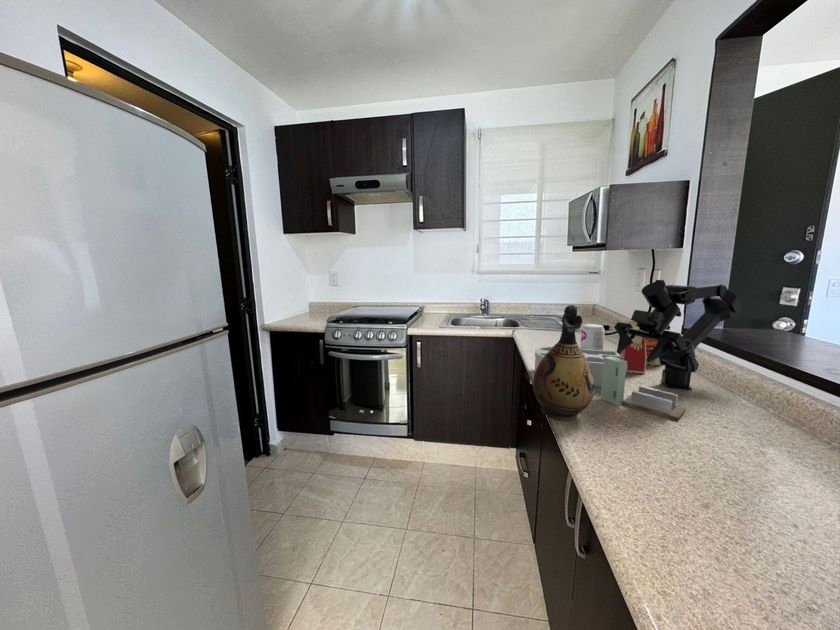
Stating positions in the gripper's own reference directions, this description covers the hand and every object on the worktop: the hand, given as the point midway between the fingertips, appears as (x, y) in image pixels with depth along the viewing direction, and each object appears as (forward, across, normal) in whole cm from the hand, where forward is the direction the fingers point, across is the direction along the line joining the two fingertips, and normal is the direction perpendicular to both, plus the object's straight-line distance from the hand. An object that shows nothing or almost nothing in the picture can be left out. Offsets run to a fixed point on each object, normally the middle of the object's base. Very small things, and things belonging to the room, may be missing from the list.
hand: (631, 356), depth 97 cm
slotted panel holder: (+10, +8, +9) cm, 15 cm away
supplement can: (-4, -30, +23) cm, 38 cm away
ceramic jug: (+28, -1, -9) cm, 29 cm away
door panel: (+14, 0, +4) cm, 15 cm away
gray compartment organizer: (+10, -19, +9) cm, 23 cm away
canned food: (-19, -18, +37) cm, 46 cm away
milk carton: (-8, -17, +26) cm, 32 cm away
